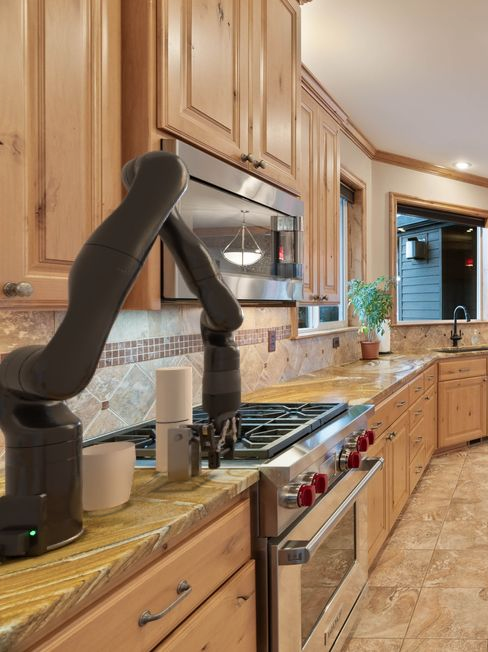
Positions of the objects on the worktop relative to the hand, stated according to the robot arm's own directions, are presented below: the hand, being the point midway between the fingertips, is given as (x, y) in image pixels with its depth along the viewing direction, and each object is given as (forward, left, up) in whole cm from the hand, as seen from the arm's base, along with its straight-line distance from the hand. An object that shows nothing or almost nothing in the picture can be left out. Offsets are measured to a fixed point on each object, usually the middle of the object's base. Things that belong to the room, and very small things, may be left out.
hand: (221, 463), depth 105 cm
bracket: (0, +8, -4) cm, 9 cm away
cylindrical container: (+8, +15, -4) cm, 18 cm away
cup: (-13, +15, -4) cm, 20 cm away
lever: (0, +5, +4) cm, 6 cm away
